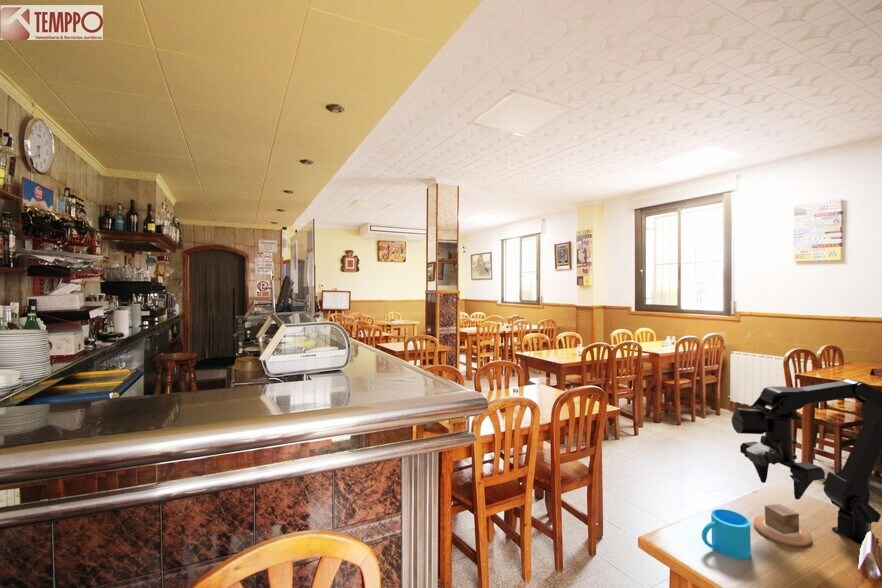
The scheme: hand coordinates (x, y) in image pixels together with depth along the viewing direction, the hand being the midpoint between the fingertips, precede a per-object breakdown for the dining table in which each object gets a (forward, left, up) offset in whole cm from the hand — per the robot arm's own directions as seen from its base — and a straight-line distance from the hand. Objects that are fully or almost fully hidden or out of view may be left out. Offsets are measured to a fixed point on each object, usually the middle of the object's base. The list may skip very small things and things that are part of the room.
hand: (779, 490), depth 109 cm
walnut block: (0, +1, -10) cm, 10 cm away
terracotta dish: (+1, +1, -11) cm, 11 cm away
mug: (+22, +4, -11) cm, 25 cm away
